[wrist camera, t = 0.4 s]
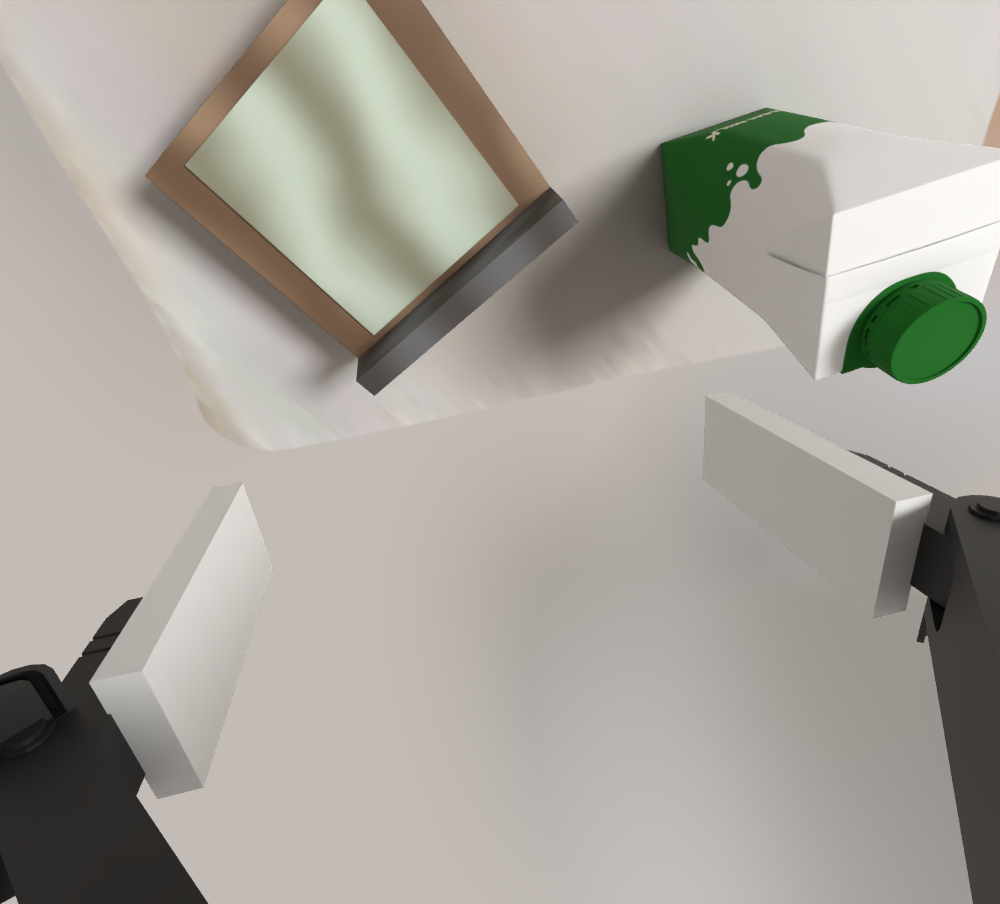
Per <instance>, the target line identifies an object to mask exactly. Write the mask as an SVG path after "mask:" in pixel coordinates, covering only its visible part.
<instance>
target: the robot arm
mask: <svg viewBox="0 0 1000 904" xmlns="http://www.w3.org/2000/svg"><path fill="white" fill-rule="evenodd" d="M704 432H705V433H704V459H703V479H704V480H705V481H706V482H707V483H708V484H710V485H711V486H712V487H713V488H715V489H716V490H717V491H718V492H719V493H721V494H722V495H723V496H724V497H726V498H727V499H728V500H729V501H730V502H732V503H733V504H734V505H735V506H737V507H738V508H739V509H740V510H741V511H743V512H744V513H745V514H746V515H747V516H749V517H750V518H751V519H752V520H753V521H755V522H756V523H757V524H758V525H759V526H761V527H762V528H763V529H764V530H766V531H767V532H768V533H769V534H770V535H772V536H773V537H774V538H775V539H776V540H778V541H779V542H780V543H781V544H783V545H784V546H785V547H786V548H787V549H789V550H790V551H791V552H792V553H794V554H795V555H796V556H797V557H798V558H800V559H801V560H802V561H803V562H804V563H806V564H807V565H808V566H809V567H810V568H812V569H813V570H814V571H815V572H817V573H818V574H819V575H820V576H822V577H823V578H824V579H825V580H826V581H828V582H829V583H830V584H831V585H832V586H834V587H835V588H836V589H838V591H840V592H841V593H842V594H843V595H844V596H846V597H847V598H848V599H849V600H851V601H852V602H853V603H854V604H855V605H857V606H858V607H859V608H860V609H861V610H863V611H864V612H865V613H866V614H868V615H869V616H870V617H871V618H877V617H881V616H885V615H889V614H892V613H897V612H900V611H904V610H906V606H907V602H908V598H909V593H910V589H911V585H912V586H913V587H915V588H916V589H918V590H919V591H921V592H922V593H923V594H925V595H926V596H928V598H927V602H926V606H925V610H924V614H923V618H922V622H921V626H920V630H919V634H918V638H917V642H922V643H923V642H924V639H925V636H927V635H928V639H929V645H930V651H931V657H932V663H933V668H934V675H935V681H936V686H937V693H938V699H939V704H940V710H941V716H942V722H943V728H944V734H945V740H946V746H947V752H948V758H949V764H950V770H951V776H952V781H953V787H954V793H955V799H956V805H957V811H958V817H959V823H960V828H961V835H962V841H963V846H964V853H965V858H966V864H967V870H968V876H969V882H970V888H971V893H972V900H973V904H1000V498H997V497H992V496H982V495H970V496H962V497H958V498H956V499H955V498H953V497H951V496H949V495H947V494H945V493H943V492H941V491H939V490H937V489H935V488H933V487H931V486H928V485H926V484H925V483H923V482H921V481H919V480H917V479H915V478H913V477H911V476H909V475H905V476H904V473H902V472H900V471H898V470H896V469H894V468H892V467H890V468H889V467H888V465H886V464H884V463H882V462H880V461H878V460H876V459H874V458H872V457H870V456H867V455H864V454H860V453H856V452H853V451H849V450H846V449H843V448H842V447H840V446H838V445H836V444H834V443H831V442H830V441H828V440H826V439H824V438H822V437H820V436H818V435H816V434H814V433H812V432H810V431H808V430H806V429H804V428H802V427H800V426H798V425H796V424H794V423H792V422H790V421H788V420H786V419H784V418H782V417H780V416H778V415H776V414H774V413H772V412H770V411H768V410H766V409H764V408H762V407H760V406H758V405H756V404H754V403H752V402H750V401H748V400H746V399H744V398H742V397H740V396H738V395H737V394H735V393H733V392H731V391H728V392H722V393H717V394H712V395H707V396H706V401H705V430H704ZM272 570H273V566H272V564H271V561H270V558H269V555H268V552H267V549H266V547H265V544H264V541H263V538H262V535H261V533H260V530H259V527H258V524H257V521H256V518H255V516H254V513H253V510H252V507H251V505H250V502H249V499H248V496H247V493H246V490H245V488H244V485H243V483H238V484H233V485H227V486H222V487H217V488H212V490H211V491H210V493H209V495H208V496H207V498H206V499H205V501H204V503H203V504H202V506H201V507H200V509H199V510H198V512H197V513H196V515H195V517H194V518H193V520H192V521H191V523H190V525H189V526H188V528H187V529H186V531H185V532H184V534H183V535H182V537H181V539H180V540H179V542H178V544H177V545H176V547H175V548H174V550H173V551H172V553H171V554H170V556H169V557H168V559H167V561H166V562H165V564H164V565H163V567H162V569H161V570H160V572H159V573H158V575H157V576H156V578H155V580H154V581H153V583H152V584H151V586H150V588H149V589H148V591H147V592H146V594H145V595H144V597H141V598H137V599H132V600H128V601H126V602H125V603H124V604H123V605H122V606H120V607H119V608H118V609H117V610H116V611H115V612H113V613H112V614H111V615H110V616H109V617H107V618H106V620H105V621H104V622H103V624H102V625H101V627H100V628H99V629H98V631H97V633H96V634H95V635H94V637H93V641H91V642H89V644H88V645H87V647H86V648H85V650H84V651H83V653H82V657H79V658H78V660H77V661H76V663H75V664H74V665H73V667H72V668H71V670H70V671H69V673H68V674H67V676H66V677H65V678H64V680H63V681H62V682H61V681H60V679H59V678H58V676H57V674H56V673H55V671H54V670H53V669H52V668H51V667H49V666H47V665H45V664H41V665H28V666H24V667H21V668H17V669H13V670H10V671H8V672H6V673H4V674H2V675H0V904H1V903H3V902H5V901H6V900H8V899H10V898H12V897H14V896H16V898H17V901H18V903H19V904H208V903H207V901H206V900H205V898H204V897H203V895H202V894H201V892H200V891H199V889H198V888H197V886H196V885H195V883H194V882H193V880H192V879H191V877H190V876H189V874H188V873H187V871H186V870H185V868H184V867H183V865H182V864H181V862H180V861H179V859H178V858H177V856H176V855H175V853H174V852H173V850H172V849H171V847H170V846H169V844H168V843H167V841H166V840H165V838H164V837H163V835H162V834H161V832H160V831H159V829H158V828H157V826H156V825H155V823H154V822H153V820H152V819H151V817H150V816H149V815H148V813H147V812H146V810H145V809H144V807H143V805H142V804H141V803H140V801H139V800H138V798H137V796H136V795H137V793H138V791H139V788H140V785H141V783H142V781H143V779H144V777H145V779H146V781H147V782H148V784H149V786H150V787H151V789H152V791H153V793H154V794H155V796H156V798H157V799H160V798H163V797H168V796H172V795H175V794H180V793H184V792H188V791H192V790H195V789H199V788H203V787H204V784H205V781H206V778H207V775H208V772H209V769H210V765H211V762H212V759H213V756H214V753H215V750H216V747H217V743H218V740H219V737H220V734H221V731H222V727H223V725H224V721H225V718H226V715H227V712H228V709H229V706H230V703H231V699H232V696H233V693H234V690H235V687H236V684H237V680H238V677H239V674H240V671H241V668H242V665H243V662H244V658H245V655H246V652H247V649H248V646H249V643H250V640H251V636H252V633H253V630H254V627H255V623H256V621H257V617H258V614H259V611H260V608H261V605H262V602H263V599H264V595H265V592H266V589H267V586H268V582H269V580H270V576H271V573H272Z"/></svg>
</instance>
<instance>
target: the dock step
mask: <svg viewBox="0 0 1000 904" xmlns="http://www.w3.org/2000/svg"><path fill="white" fill-rule="evenodd" d="M145 177H146V178H147V179H149V180H150V181H151V182H152V183H153V184H154V185H156V186H157V187H158V188H159V189H160V190H161V191H163V192H164V193H165V194H166V195H167V196H168V197H170V198H171V199H172V200H173V201H174V202H176V203H177V204H178V205H179V206H180V207H181V208H183V209H184V210H185V211H186V212H187V213H188V214H190V215H191V216H192V217H193V218H194V219H196V220H197V221H198V222H199V223H200V224H201V225H203V226H204V227H205V228H206V229H207V230H208V231H210V232H211V233H212V234H213V235H214V236H215V237H217V238H218V239H219V240H220V241H221V242H223V243H224V244H225V245H226V246H227V247H228V248H230V249H231V250H232V251H233V252H234V253H235V254H237V255H238V256H239V257H240V258H241V259H243V260H244V261H245V262H246V263H247V264H248V265H250V266H251V267H252V268H253V269H254V270H255V271H257V272H258V273H259V274H260V275H261V276H262V277H264V278H265V279H266V280H267V281H268V282H270V283H271V284H272V285H273V286H274V287H275V288H277V289H278V290H279V291H280V292H281V293H282V294H284V295H285V296H286V297H287V298H288V299H290V300H291V301H292V302H293V303H294V304H295V305H297V306H298V307H299V308H300V309H301V310H302V311H304V312H305V313H306V314H307V315H308V316H310V317H311V318H312V319H313V320H314V321H315V322H317V323H318V324H319V325H320V326H321V327H322V328H324V329H325V330H326V331H327V332H328V333H329V334H331V335H332V336H333V337H334V338H335V339H337V340H338V341H339V342H340V343H341V344H342V345H344V346H345V347H346V348H347V349H348V350H349V351H351V352H352V353H353V354H354V355H355V356H357V357H358V369H357V379H356V381H357V382H358V383H359V384H361V385H362V386H363V387H364V388H365V389H367V390H368V391H369V392H370V393H372V394H373V395H374V396H375V395H376V394H377V393H378V392H379V391H381V390H382V389H383V388H384V387H385V386H386V385H388V384H389V383H390V382H391V381H392V380H393V379H395V378H396V377H397V376H398V375H399V374H401V373H402V372H403V371H404V370H405V369H406V368H408V367H409V366H410V365H411V364H412V363H413V362H415V361H416V360H417V359H418V358H419V357H420V356H422V355H423V354H424V353H425V352H426V351H427V350H429V349H430V348H431V347H432V346H433V345H434V344H436V343H437V342H438V341H439V340H440V339H441V338H443V337H444V336H445V335H446V334H447V333H449V332H450V331H451V330H452V329H453V328H454V327H456V326H457V325H458V324H459V323H460V322H461V321H463V320H464V319H465V318H466V317H467V316H468V315H470V314H471V313H472V312H473V311H474V310H475V309H477V308H478V307H479V306H480V305H481V304H482V303H484V302H485V301H486V300H487V299H488V298H489V297H491V296H492V295H493V294H494V293H495V292H496V291H498V290H499V289H500V288H501V287H502V286H504V285H505V284H506V283H507V282H508V281H509V280H511V279H512V278H513V277H514V276H515V275H516V274H518V273H519V272H520V271H521V270H522V269H523V268H525V267H526V266H527V265H528V264H529V263H530V262H532V261H533V260H534V259H535V258H536V257H537V256H539V255H540V254H541V253H542V252H543V251H544V250H546V249H547V248H548V247H549V246H550V245H552V244H553V243H554V242H555V241H556V240H557V239H559V238H560V237H561V236H562V235H563V234H564V233H566V232H567V231H568V230H569V229H570V228H571V227H573V226H574V225H575V224H576V223H577V222H578V221H577V220H576V218H575V217H574V215H573V214H572V212H571V211H570V209H569V208H568V206H567V205H566V204H565V202H564V201H563V199H562V198H561V197H560V196H559V195H558V194H557V193H556V192H555V191H554V190H553V189H552V188H551V187H550V186H549V184H548V183H547V182H546V180H545V179H544V177H543V176H542V174H541V173H540V172H539V170H538V169H537V167H536V166H535V164H534V163H533V161H532V160H531V159H530V157H529V156H528V154H527V153H526V151H525V150H524V148H523V147H522V146H521V144H520V143H519V141H518V140H517V138H516V137H515V135H514V134H513V133H512V131H511V130H510V128H509V127H508V125H507V124H506V122H505V121H504V120H503V118H502V117H501V115H500V114H499V112H498V111H497V109H496V108H495V107H494V105H493V104H492V102H491V101H490V99H489V98H488V96H487V95H486V94H485V92H484V91H483V89H482V88H481V86H480V85H479V83H478V82H477V81H476V79H475V78H474V76H473V75H472V73H471V72H470V70H469V69H468V68H467V66H466V65H465V63H464V62H463V60H462V59H461V57H460V56H459V55H458V53H457V52H456V50H455V49H454V47H453V46H452V45H451V43H450V42H449V40H448V39H447V37H446V36H445V34H444V33H443V32H442V30H441V29H440V27H439V26H438V24H437V23H436V21H435V20H434V19H433V17H432V16H431V14H430V13H429V11H428V10H427V8H426V7H425V6H424V4H423V3H422V1H421V0H287V2H286V3H285V4H284V5H283V6H282V8H281V9H280V10H279V11H278V13H277V14H276V15H275V16H274V18H273V19H272V20H271V21H270V22H269V24H268V25H267V26H266V27H265V29H264V30H263V31H262V32H261V34H260V35H259V36H258V37H257V38H256V40H255V41H254V42H253V43H252V45H251V46H250V47H249V48H248V50H247V51H246V52H245V53H244V54H243V56H242V57H241V58H240V59H239V61H238V62H237V63H236V64H235V66H234V67H233V68H232V69H231V70H230V72H229V73H228V74H227V75H226V77H225V78H224V79H223V80H222V82H221V83H220V84H219V85H218V86H217V88H216V89H215V90H214V91H213V93H212V94H211V95H210V96H209V98H208V99H207V100H206V101H205V102H204V104H203V105H202V106H201V107H200V109H199V110H198V111H197V112H196V114H195V115H194V116H193V117H192V118H191V120H190V121H189V122H188V123H187V125H186V126H185V127H184V128H183V130H182V131H181V132H180V133H179V134H178V136H177V137H176V138H175V139H174V141H173V142H172V143H171V144H170V146H169V147H168V148H167V149H166V150H165V152H164V153H163V154H162V155H161V157H160V158H159V159H158V160H157V162H156V163H155V164H154V165H153V166H152V168H151V169H150V170H149V171H148V173H147V174H146V175H145Z"/></svg>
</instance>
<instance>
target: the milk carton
mask: <svg viewBox="0 0 1000 904" xmlns="http://www.w3.org/2000/svg"><path fill="white" fill-rule="evenodd" d="M661 148H662V162H663V175H664V188H665V202H666V215H667V229H668V242H669V251H671V252H673V253H674V254H676V255H678V256H679V257H681V258H683V259H685V260H686V261H688V262H690V263H691V264H693V265H695V266H696V267H698V268H699V269H700V270H702V271H703V272H704V273H706V274H707V275H708V276H709V277H711V278H712V279H713V280H714V281H716V282H717V283H718V284H720V285H721V286H722V287H723V288H725V289H726V290H727V291H728V292H730V293H731V294H732V295H734V296H735V297H736V298H737V299H739V300H740V301H741V302H742V303H744V304H745V305H746V306H747V307H749V308H750V309H751V310H753V311H754V312H755V313H756V314H758V315H759V316H760V317H761V318H762V319H763V320H764V321H765V322H766V323H767V324H768V325H769V326H770V327H771V328H772V330H773V331H774V332H775V333H776V334H777V336H778V337H779V338H780V339H781V340H782V342H783V343H784V344H785V345H786V347H787V348H788V349H789V350H790V351H791V352H792V354H793V355H794V356H795V357H796V359H797V360H798V361H799V362H800V364H801V365H802V366H803V367H804V368H805V370H806V371H807V372H808V373H809V374H810V376H811V377H812V378H813V379H814V380H816V379H821V378H824V377H827V376H830V375H832V374H835V373H838V372H841V374H843V373H847V372H850V371H853V370H855V369H858V368H861V367H864V368H876V367H878V368H879V369H881V370H882V371H884V372H885V373H887V374H888V375H890V376H891V377H893V378H894V379H896V380H898V381H900V382H903V383H907V384H918V383H923V382H927V381H930V380H933V379H935V378H937V377H939V376H941V375H943V374H945V373H946V372H948V371H950V370H951V369H952V368H954V367H955V366H956V365H958V364H959V363H960V362H961V361H962V360H963V359H964V358H965V357H966V356H967V355H968V354H969V353H970V352H971V350H972V349H973V348H974V347H975V345H976V344H977V343H978V341H979V339H980V337H981V336H982V333H983V331H984V328H985V325H986V310H985V307H984V306H983V304H982V300H983V297H984V294H985V291H986V288H987V285H988V282H989V279H990V276H991V272H992V269H993V267H994V264H995V260H996V258H997V254H998V251H999V248H1000V148H993V147H985V146H976V145H968V144H960V143H952V142H943V141H935V140H927V139H919V138H911V137H905V136H899V135H894V134H889V133H884V132H880V131H875V130H870V129H865V128H861V127H856V126H851V125H847V124H842V123H837V122H832V121H828V120H823V119H818V118H813V117H809V116H804V115H799V114H795V113H790V112H785V111H781V110H775V109H769V108H764V109H761V110H758V111H755V112H752V113H750V114H747V115H744V116H741V117H738V118H735V119H732V120H729V121H726V122H723V123H720V124H717V125H714V126H711V127H708V128H705V129H703V130H700V131H697V132H694V133H691V134H688V135H685V136H682V137H679V138H676V139H673V140H670V141H667V142H664V143H662V144H661Z"/></svg>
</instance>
